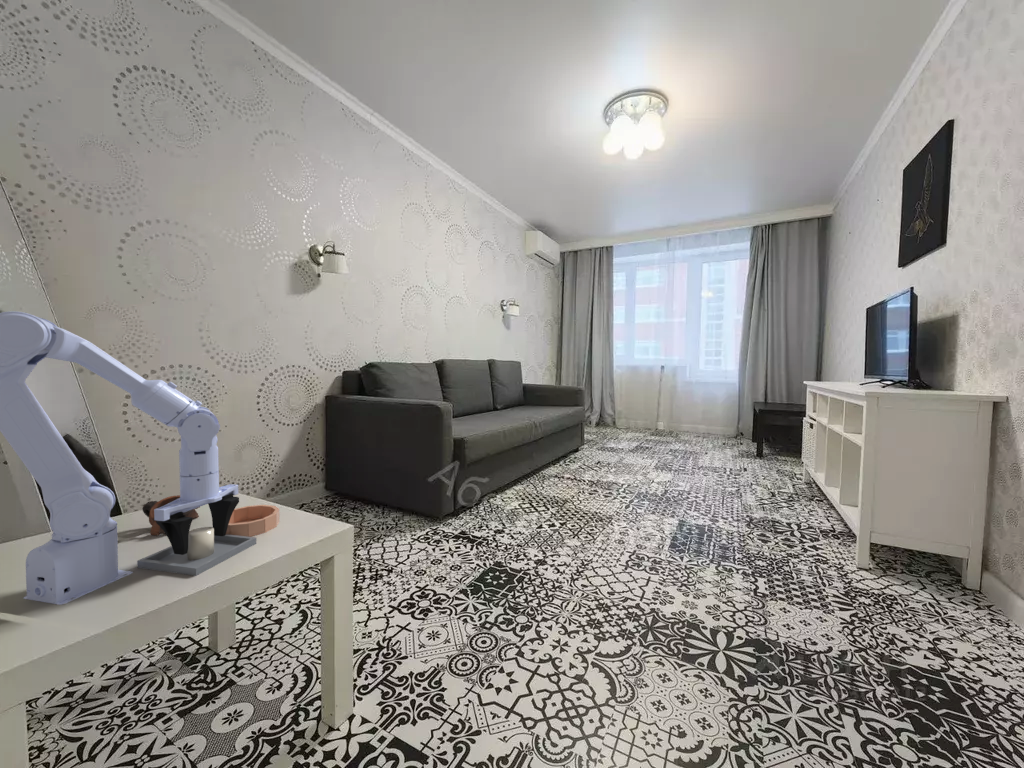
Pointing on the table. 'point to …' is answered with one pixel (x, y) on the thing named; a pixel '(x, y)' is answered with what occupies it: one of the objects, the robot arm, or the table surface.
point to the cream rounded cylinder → (200, 543)
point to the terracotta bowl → (253, 520)
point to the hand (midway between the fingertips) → (201, 543)
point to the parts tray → (182, 565)
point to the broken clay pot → (152, 505)
